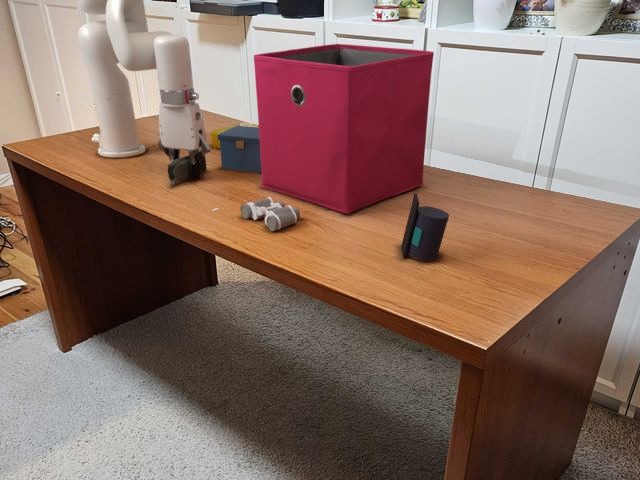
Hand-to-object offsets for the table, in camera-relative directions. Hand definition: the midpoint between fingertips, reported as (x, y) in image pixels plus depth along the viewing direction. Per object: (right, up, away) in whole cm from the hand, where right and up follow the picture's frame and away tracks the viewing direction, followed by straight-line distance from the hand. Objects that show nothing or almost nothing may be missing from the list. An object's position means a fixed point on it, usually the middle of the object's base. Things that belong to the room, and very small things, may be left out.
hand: (187, 177), depth 144 cm
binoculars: (+23, -16, -23) cm, 36 cm away
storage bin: (+37, -4, -5) cm, 38 cm away
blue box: (+15, +5, +9) cm, 18 cm away
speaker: (+51, -25, -37) cm, 67 cm away
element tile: (+11, +16, +25) cm, 32 cm away
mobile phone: (0, 0, 0) cm, 0 cm away
